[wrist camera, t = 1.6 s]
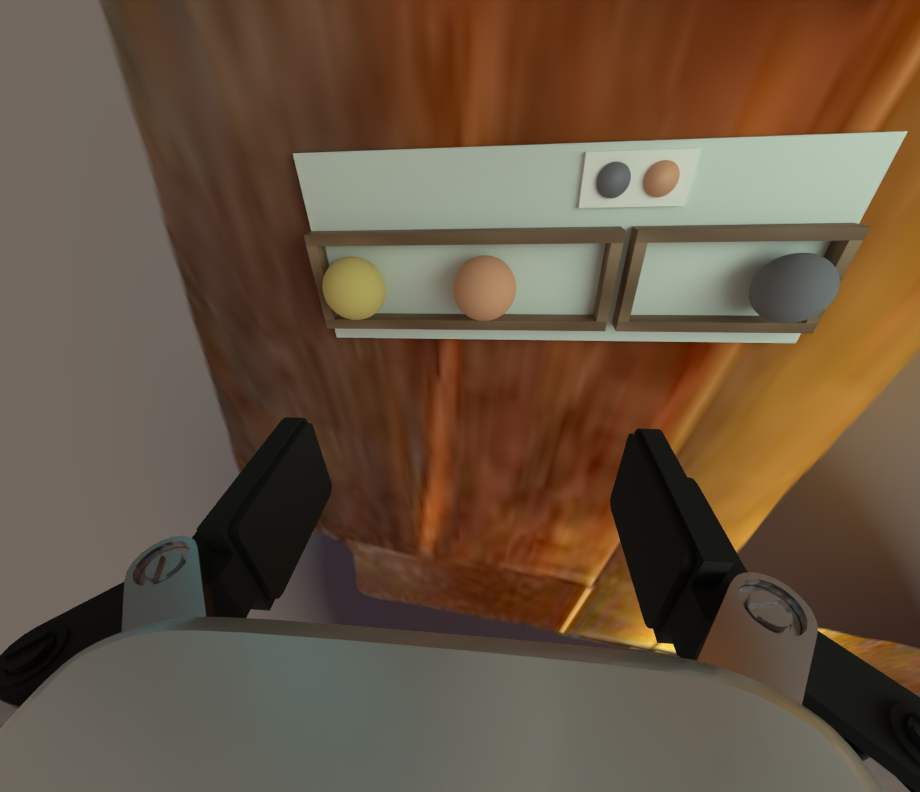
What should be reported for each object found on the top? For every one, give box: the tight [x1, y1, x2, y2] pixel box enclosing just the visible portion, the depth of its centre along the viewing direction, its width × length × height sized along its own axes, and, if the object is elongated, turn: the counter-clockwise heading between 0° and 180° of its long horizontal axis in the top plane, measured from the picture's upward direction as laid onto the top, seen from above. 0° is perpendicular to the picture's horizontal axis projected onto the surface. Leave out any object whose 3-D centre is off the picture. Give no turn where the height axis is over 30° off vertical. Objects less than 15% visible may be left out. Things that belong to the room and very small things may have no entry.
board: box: [293, 132, 907, 343], centre depth 24 cm, size 12×33×2 cm, turn 92°
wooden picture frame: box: [304, 226, 626, 331], centre depth 25 cm, size 6×20×1 cm, turn 92°
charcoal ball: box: [749, 253, 840, 323], centre depth 22 cm, size 4×4×4 cm
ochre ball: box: [322, 257, 386, 320], centre depth 25 cm, size 4×4×4 cm
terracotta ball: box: [453, 255, 516, 321], centre depth 24 cm, size 4×4×4 cm
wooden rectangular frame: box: [612, 223, 870, 333], centre depth 24 cm, size 6×12×1 cm, turn 92°
